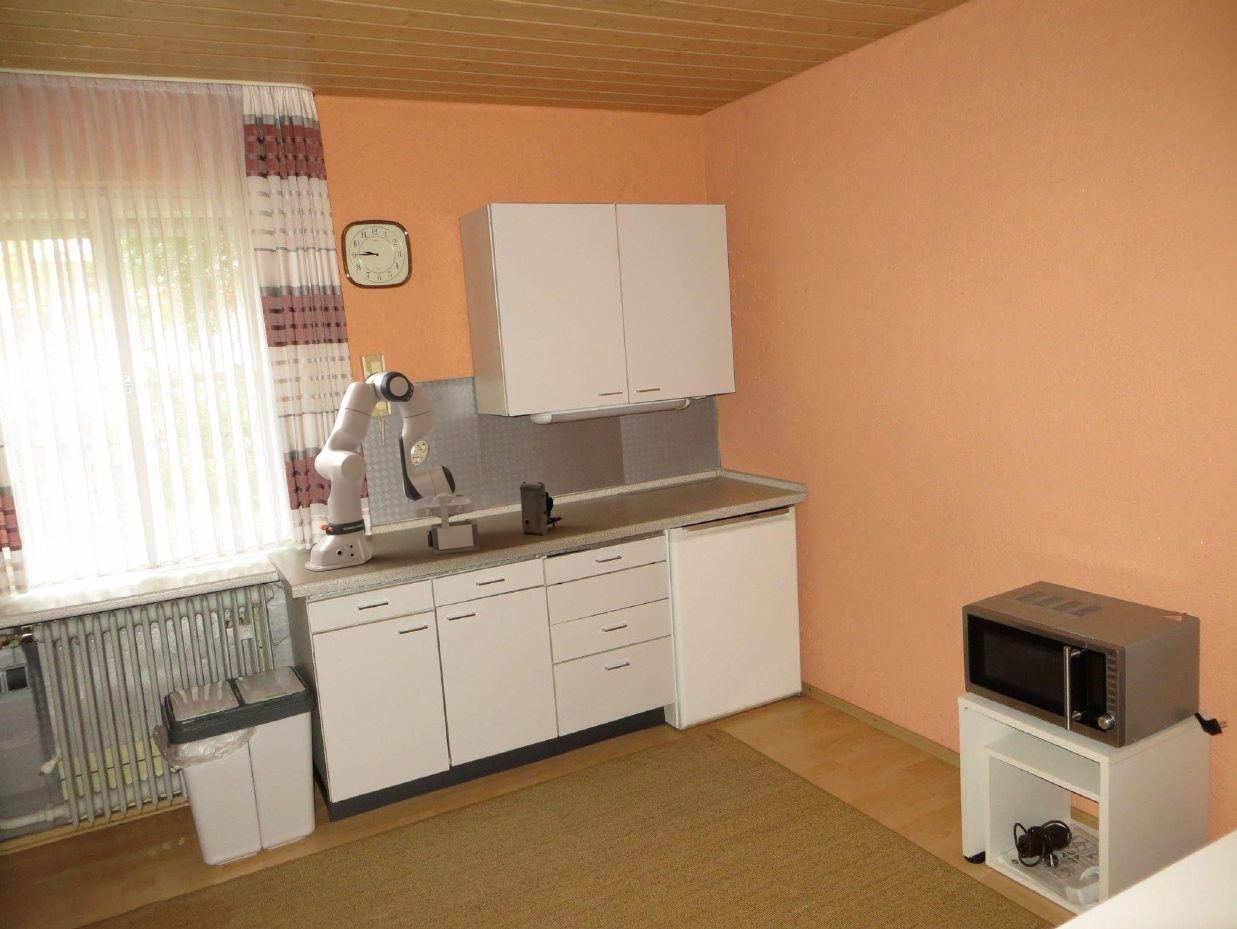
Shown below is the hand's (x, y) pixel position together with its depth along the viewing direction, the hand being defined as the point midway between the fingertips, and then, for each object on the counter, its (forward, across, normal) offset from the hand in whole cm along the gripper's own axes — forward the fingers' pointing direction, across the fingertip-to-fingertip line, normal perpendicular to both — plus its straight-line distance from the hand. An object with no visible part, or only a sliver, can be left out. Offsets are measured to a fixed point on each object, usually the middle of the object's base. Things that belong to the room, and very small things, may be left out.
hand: (444, 512), depth 315 cm
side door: (-1, +3, +13) cm, 13 cm away
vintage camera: (-20, +36, +15) cm, 44 cm away
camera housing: (-5, +2, +15) cm, 15 cm away
